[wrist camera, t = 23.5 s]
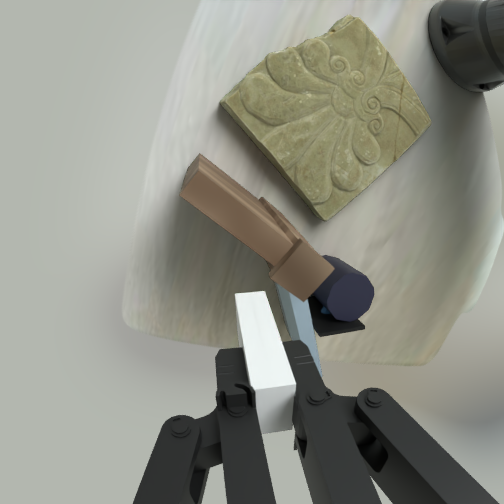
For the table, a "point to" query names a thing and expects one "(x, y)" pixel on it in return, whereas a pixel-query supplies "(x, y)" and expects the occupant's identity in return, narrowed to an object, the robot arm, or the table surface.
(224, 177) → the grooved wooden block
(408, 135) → the decorative tile
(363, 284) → the speaker
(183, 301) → the table surface
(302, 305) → the light blue flat panel
